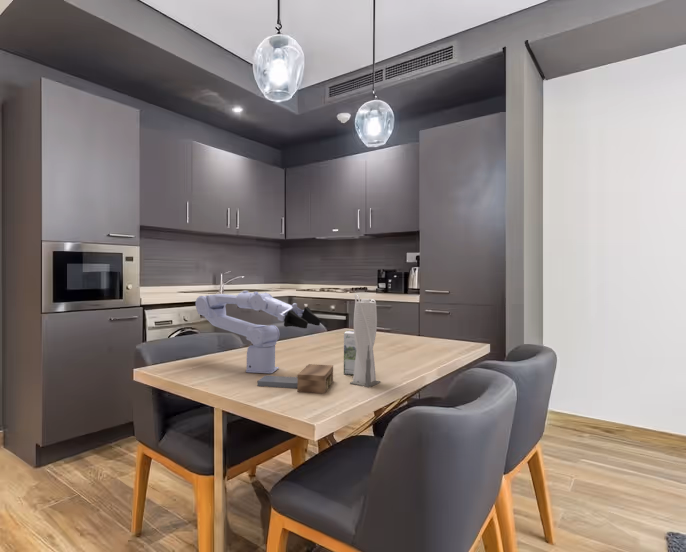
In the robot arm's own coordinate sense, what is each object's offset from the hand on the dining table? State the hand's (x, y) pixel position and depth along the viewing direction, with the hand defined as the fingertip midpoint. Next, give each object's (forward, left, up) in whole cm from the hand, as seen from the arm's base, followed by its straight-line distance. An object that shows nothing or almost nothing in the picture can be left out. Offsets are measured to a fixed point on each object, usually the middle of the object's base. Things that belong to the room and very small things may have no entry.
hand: (313, 324), depth 133 cm
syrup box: (+12, +10, -18) cm, 24 cm away
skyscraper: (+17, -1, -18) cm, 25 cm away
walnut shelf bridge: (+3, -8, -18) cm, 20 cm away
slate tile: (-8, -8, -18) cm, 22 cm away
